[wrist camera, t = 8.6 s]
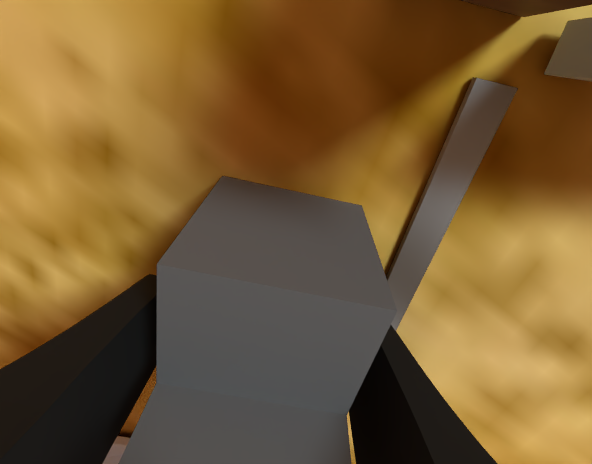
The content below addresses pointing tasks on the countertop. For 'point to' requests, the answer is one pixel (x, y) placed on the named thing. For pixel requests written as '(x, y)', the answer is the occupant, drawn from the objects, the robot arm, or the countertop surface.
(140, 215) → the countertop surface
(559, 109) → the countertop surface
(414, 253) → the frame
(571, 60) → the pale grey bar
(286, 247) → the stepped block
